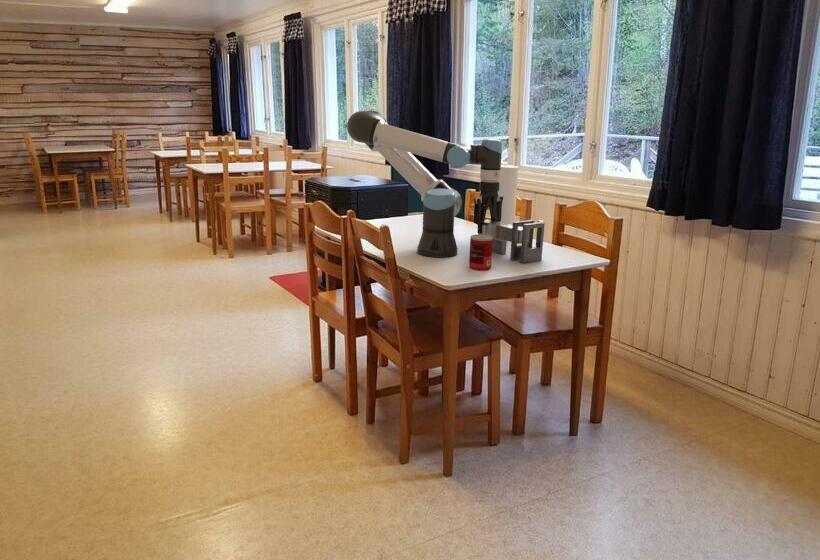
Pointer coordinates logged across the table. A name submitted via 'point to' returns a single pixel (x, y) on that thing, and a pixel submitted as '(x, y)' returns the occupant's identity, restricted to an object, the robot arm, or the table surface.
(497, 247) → the stand
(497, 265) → the table surface
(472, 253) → the canned food
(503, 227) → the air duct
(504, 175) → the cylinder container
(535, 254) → the collar stand
